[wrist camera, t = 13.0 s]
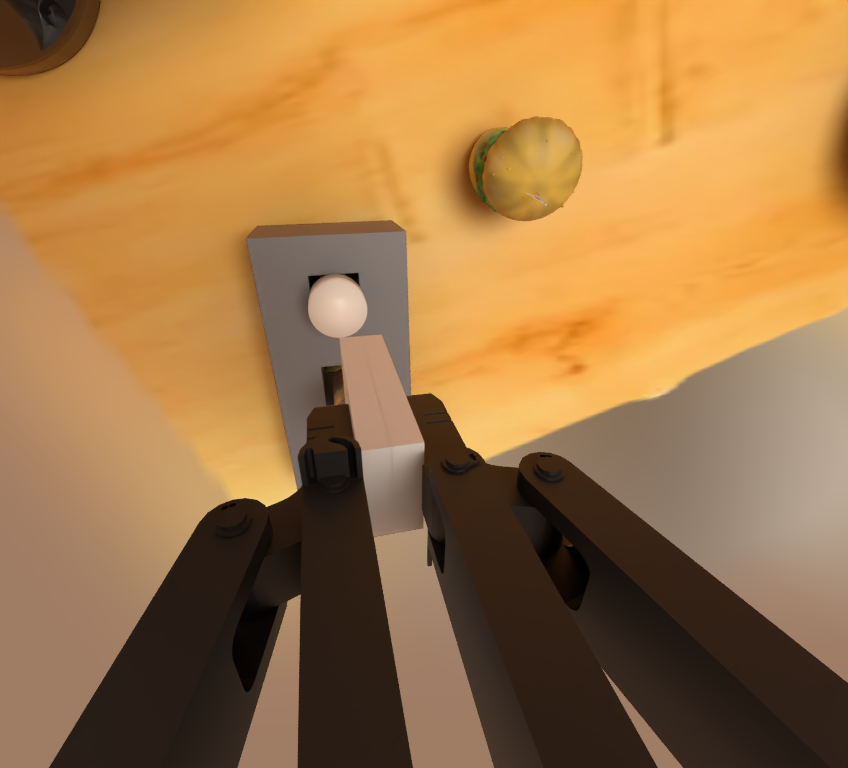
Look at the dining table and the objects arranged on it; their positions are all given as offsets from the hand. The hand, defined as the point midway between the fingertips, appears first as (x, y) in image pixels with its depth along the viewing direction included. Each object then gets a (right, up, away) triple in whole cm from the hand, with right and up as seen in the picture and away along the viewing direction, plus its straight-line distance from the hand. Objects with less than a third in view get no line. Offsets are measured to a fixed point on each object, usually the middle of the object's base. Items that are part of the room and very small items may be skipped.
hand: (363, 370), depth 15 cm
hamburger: (+9, +20, +24) cm, 32 cm away
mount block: (-6, +3, +29) cm, 30 cm away
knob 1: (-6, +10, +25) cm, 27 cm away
